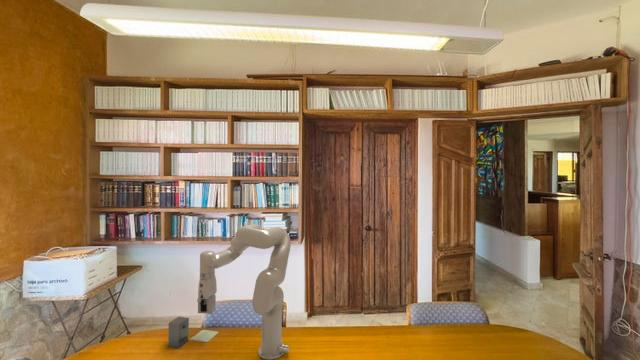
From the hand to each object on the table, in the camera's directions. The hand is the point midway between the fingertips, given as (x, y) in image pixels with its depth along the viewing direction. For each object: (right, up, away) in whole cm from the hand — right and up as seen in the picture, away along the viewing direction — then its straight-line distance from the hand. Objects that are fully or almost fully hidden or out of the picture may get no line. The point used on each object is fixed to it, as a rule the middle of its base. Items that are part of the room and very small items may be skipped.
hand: (206, 308), depth 153 cm
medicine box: (0, -2, 0) cm, 2 cm away
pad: (-1, -15, 0) cm, 15 cm away
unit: (-11, -14, -8) cm, 20 cm away
